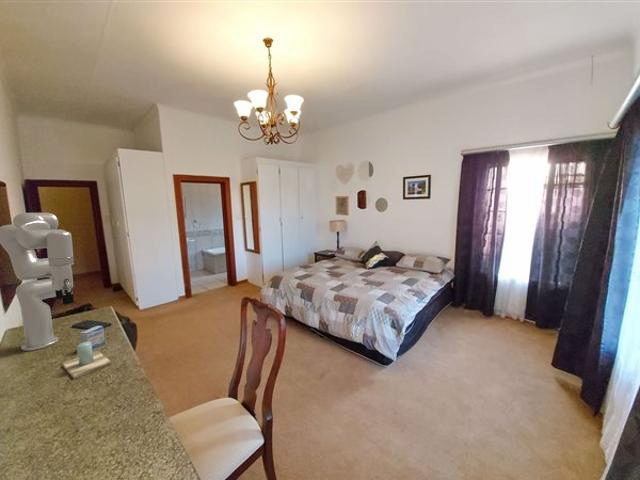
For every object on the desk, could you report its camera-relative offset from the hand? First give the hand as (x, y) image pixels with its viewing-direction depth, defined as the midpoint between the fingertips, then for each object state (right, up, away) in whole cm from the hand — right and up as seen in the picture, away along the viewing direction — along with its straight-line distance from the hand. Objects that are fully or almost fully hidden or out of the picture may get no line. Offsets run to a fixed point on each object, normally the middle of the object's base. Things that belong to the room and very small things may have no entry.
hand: (64, 301), depth 113 cm
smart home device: (-22, -24, +39) cm, 51 cm away
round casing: (+9, -26, 0) cm, 27 cm away
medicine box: (-2, -26, +16) cm, 31 cm away
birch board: (+9, -27, 0) cm, 29 cm away
